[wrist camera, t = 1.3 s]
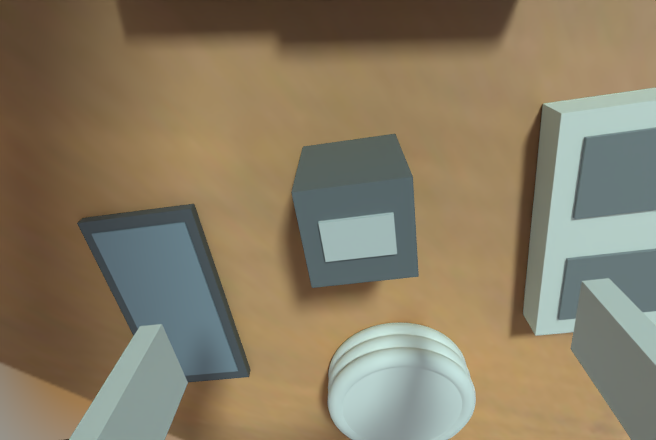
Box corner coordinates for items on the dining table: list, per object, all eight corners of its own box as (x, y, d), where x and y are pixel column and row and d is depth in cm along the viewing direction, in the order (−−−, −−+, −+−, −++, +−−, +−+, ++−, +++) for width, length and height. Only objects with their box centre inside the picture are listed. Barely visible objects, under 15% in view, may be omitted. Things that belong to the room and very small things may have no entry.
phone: (88, 213, 25) (76, 223, 24) (197, 199, 25) (190, 209, 23) (164, 372, 32) (157, 385, 31) (251, 364, 31) (248, 378, 30)
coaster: (490, 343, 29) (508, 384, 26) (424, 425, 34) (432, 468, 30) (361, 300, 27) (363, 339, 24) (309, 392, 32) (306, 434, 29)
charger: (303, 146, 22) (291, 194, 17) (395, 133, 22) (413, 178, 16) (318, 225, 25) (311, 290, 19) (401, 215, 24) (419, 279, 19)
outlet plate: (542, 103, 21) (563, 114, 19) (712, 79, 20) (752, 88, 18) (522, 313, 27) (536, 337, 25) (650, 301, 27) (674, 325, 25)
